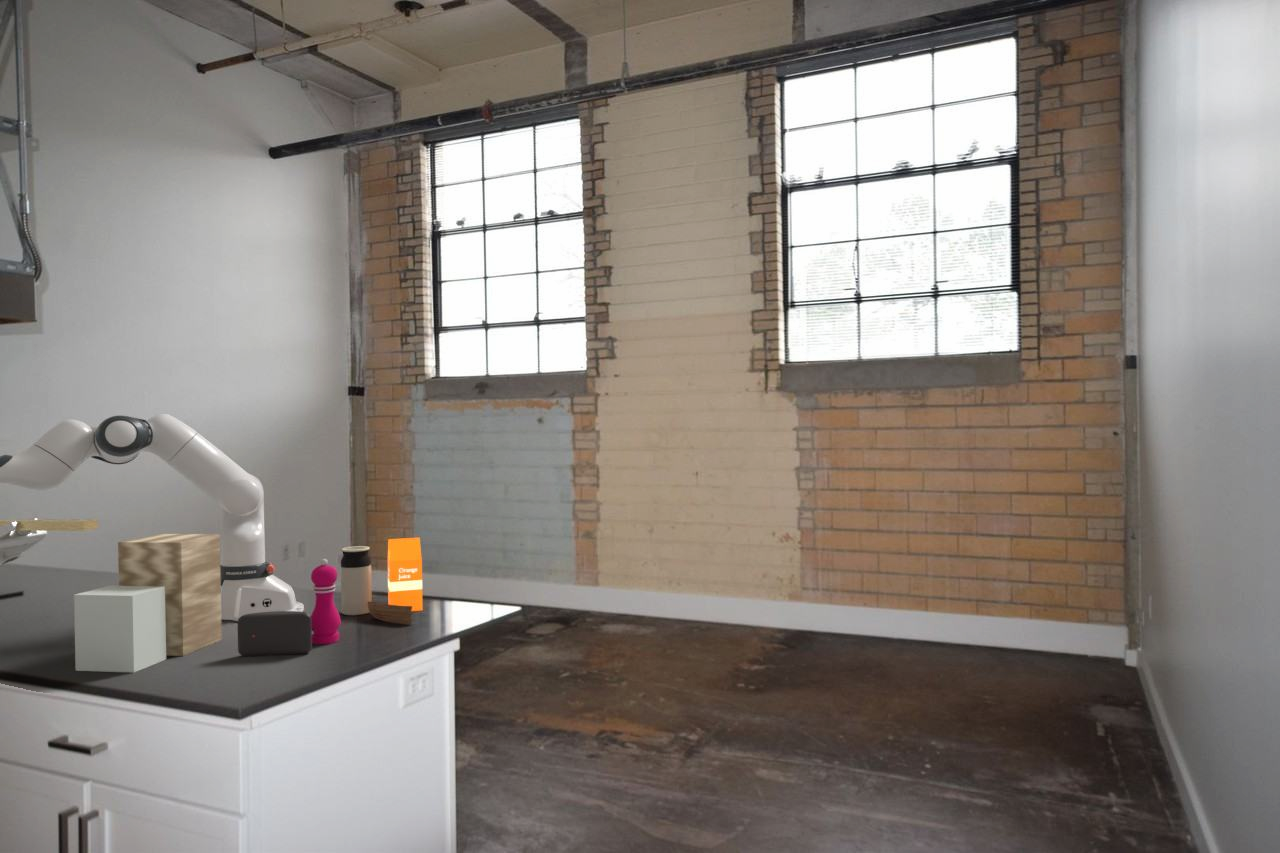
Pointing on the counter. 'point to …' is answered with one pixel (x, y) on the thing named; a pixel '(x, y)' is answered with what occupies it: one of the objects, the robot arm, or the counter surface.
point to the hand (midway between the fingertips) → (26, 522)
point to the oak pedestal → (179, 584)
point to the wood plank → (391, 613)
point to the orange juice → (405, 573)
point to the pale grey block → (120, 628)
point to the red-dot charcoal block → (274, 633)
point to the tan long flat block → (53, 524)
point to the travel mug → (355, 580)
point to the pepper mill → (324, 605)
